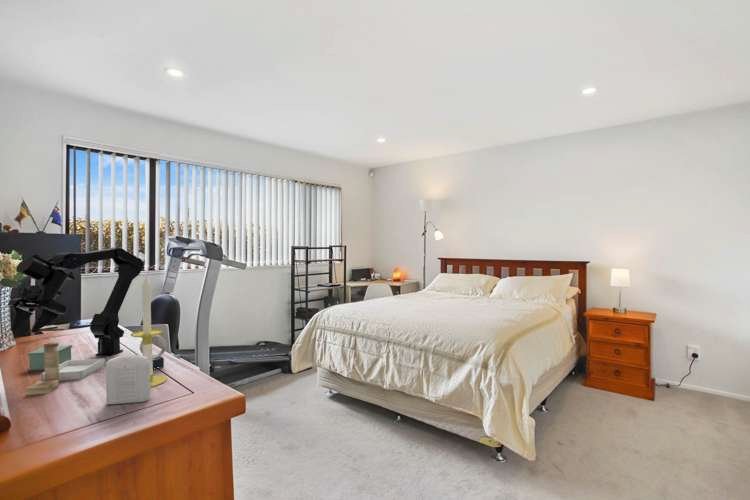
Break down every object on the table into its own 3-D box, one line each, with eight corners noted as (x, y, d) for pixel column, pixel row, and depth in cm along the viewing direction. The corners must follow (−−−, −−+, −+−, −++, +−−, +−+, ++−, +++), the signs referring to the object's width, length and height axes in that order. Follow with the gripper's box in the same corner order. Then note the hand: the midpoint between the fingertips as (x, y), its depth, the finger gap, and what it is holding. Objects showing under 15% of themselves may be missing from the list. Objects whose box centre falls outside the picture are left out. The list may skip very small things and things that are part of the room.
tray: (67, 367, 127) (67, 360, 127) (104, 365, 129) (104, 358, 129) (41, 381, 114) (40, 373, 114) (82, 378, 117) (81, 371, 116)
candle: (171, 382, 113) (169, 275, 113) (133, 391, 106) (131, 278, 105) (160, 374, 120) (158, 274, 119) (124, 383, 113) (122, 276, 112)
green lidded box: (72, 360, 135) (72, 342, 135) (57, 368, 126) (56, 349, 126) (45, 362, 133) (45, 344, 133) (28, 370, 125) (27, 351, 125)
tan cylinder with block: (46, 384, 112) (45, 342, 112) (65, 382, 113) (64, 341, 113) (26, 395, 104) (25, 350, 104) (46, 393, 105) (45, 349, 105)
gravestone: (153, 396, 103) (152, 351, 103) (147, 402, 99) (146, 356, 99) (111, 399, 101) (110, 354, 100) (103, 406, 96) (102, 359, 96)
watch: (169, 365, 129) (169, 333, 129) (144, 371, 123) (143, 338, 122) (163, 362, 132) (162, 331, 132) (137, 368, 126) (137, 336, 126)
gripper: (5, 275, 120) (-27, 321, 112) (47, 275, 115) (16, 324, 107) (39, 289, 129) (12, 332, 122) (79, 290, 124) (53, 336, 116)
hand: (22, 331), depth 116 cm, fingers open, 9 cm apart
